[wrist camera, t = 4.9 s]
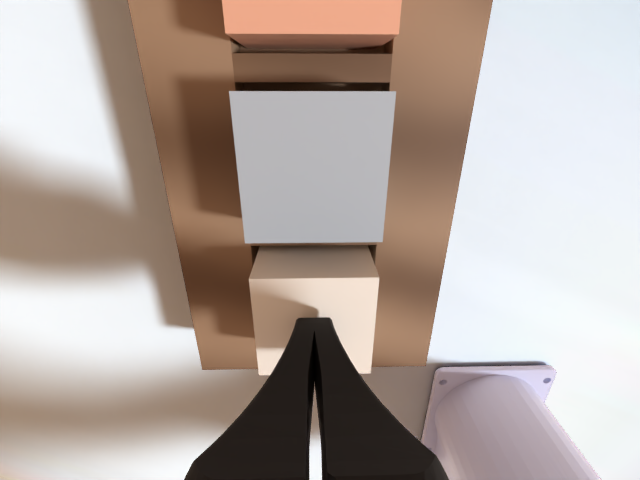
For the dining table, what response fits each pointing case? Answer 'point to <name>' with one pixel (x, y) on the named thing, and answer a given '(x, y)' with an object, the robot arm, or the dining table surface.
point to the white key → (314, 298)
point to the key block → (310, 75)
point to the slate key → (313, 164)
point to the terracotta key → (312, 23)
